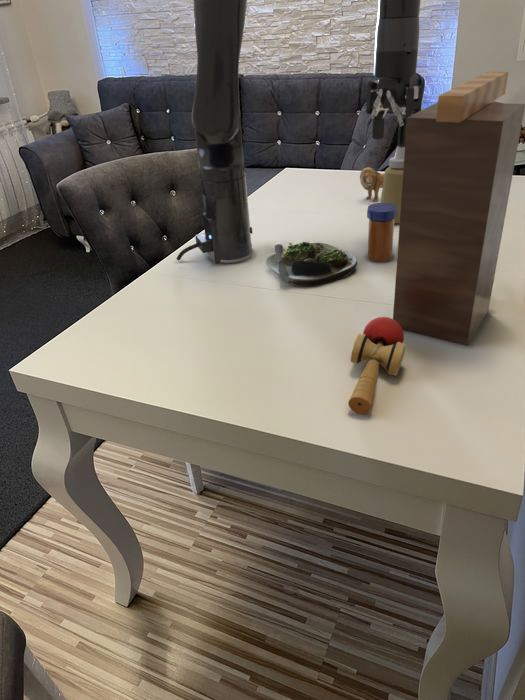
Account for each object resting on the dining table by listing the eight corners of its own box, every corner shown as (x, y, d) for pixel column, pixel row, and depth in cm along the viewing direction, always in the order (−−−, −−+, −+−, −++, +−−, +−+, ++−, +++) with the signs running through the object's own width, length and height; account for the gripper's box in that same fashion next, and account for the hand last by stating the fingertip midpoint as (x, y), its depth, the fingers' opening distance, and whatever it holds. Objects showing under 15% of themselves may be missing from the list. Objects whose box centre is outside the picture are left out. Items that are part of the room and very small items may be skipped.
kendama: (395, 427, 69) (416, 340, 81) (387, 391, 65) (410, 306, 78) (337, 423, 72) (366, 340, 85) (327, 389, 69) (358, 308, 81)
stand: (467, 345, 81) (503, 120, 64) (392, 327, 87) (406, 117, 70) (488, 311, 89) (525, 103, 72) (418, 297, 95) (437, 102, 78)
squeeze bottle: (416, 224, 125) (423, 144, 115) (381, 227, 126) (386, 147, 116) (409, 213, 132) (415, 136, 122) (376, 215, 132) (379, 139, 123)
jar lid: (376, 223, 103) (377, 213, 102) (361, 215, 108) (362, 205, 107) (402, 218, 105) (402, 208, 104) (386, 210, 110) (386, 200, 109)
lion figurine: (366, 206, 139) (367, 170, 134) (354, 201, 143) (355, 166, 138) (410, 194, 144) (413, 160, 139) (397, 190, 148) (399, 156, 143)
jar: (375, 263, 109) (377, 215, 103) (362, 255, 113) (364, 208, 107) (396, 258, 110) (400, 210, 104) (383, 250, 114) (386, 204, 108)
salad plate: (244, 262, 114) (242, 241, 111) (313, 241, 121) (313, 222, 118) (292, 295, 99) (291, 272, 97) (368, 270, 106) (369, 248, 104)
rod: (460, 122, 65) (463, 95, 63) (435, 121, 66) (438, 95, 65) (505, 94, 80) (508, 71, 78) (484, 93, 81) (487, 71, 80)
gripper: (357, 47, 100) (354, 139, 108) (402, 50, 88) (395, 152, 97) (391, 44, 102) (385, 134, 111) (439, 46, 91) (429, 146, 99)
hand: (390, 142), depth 104 cm, fingers open, 8 cm apart
